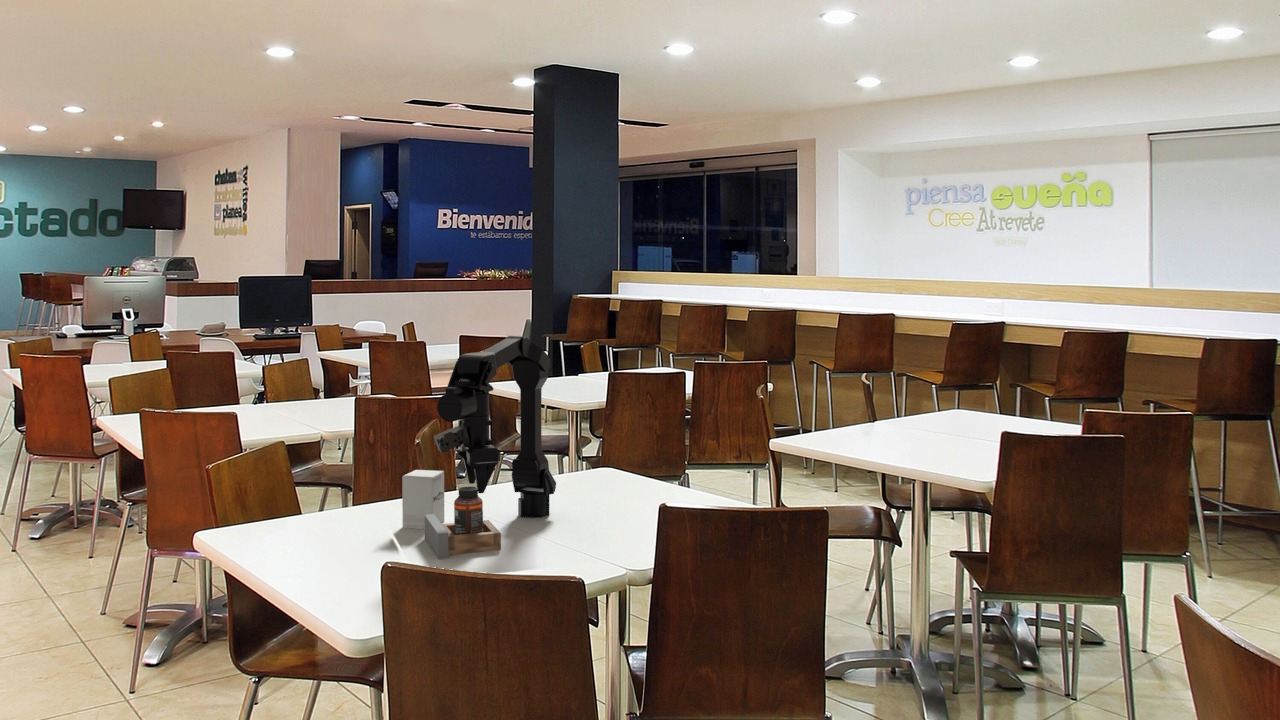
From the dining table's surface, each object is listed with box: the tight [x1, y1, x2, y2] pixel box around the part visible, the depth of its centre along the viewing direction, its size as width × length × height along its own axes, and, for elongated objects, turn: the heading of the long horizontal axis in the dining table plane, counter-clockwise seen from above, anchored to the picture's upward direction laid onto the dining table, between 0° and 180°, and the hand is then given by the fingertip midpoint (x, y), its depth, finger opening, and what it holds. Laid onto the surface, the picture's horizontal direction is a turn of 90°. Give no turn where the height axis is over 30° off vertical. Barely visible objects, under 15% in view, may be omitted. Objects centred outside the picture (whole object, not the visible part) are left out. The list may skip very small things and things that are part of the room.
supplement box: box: [401, 469, 445, 530], centre depth 226 cm, size 7×7×13 cm
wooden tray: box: [441, 519, 502, 556], centre depth 210 cm, size 11×11×4 cm
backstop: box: [424, 514, 449, 560], centre depth 211 cm, size 21×16×6 cm
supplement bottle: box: [453, 485, 484, 535], centre depth 210 cm, size 6×6×11 cm
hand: (476, 488), depth 210 cm, fingers open, 9 cm apart
